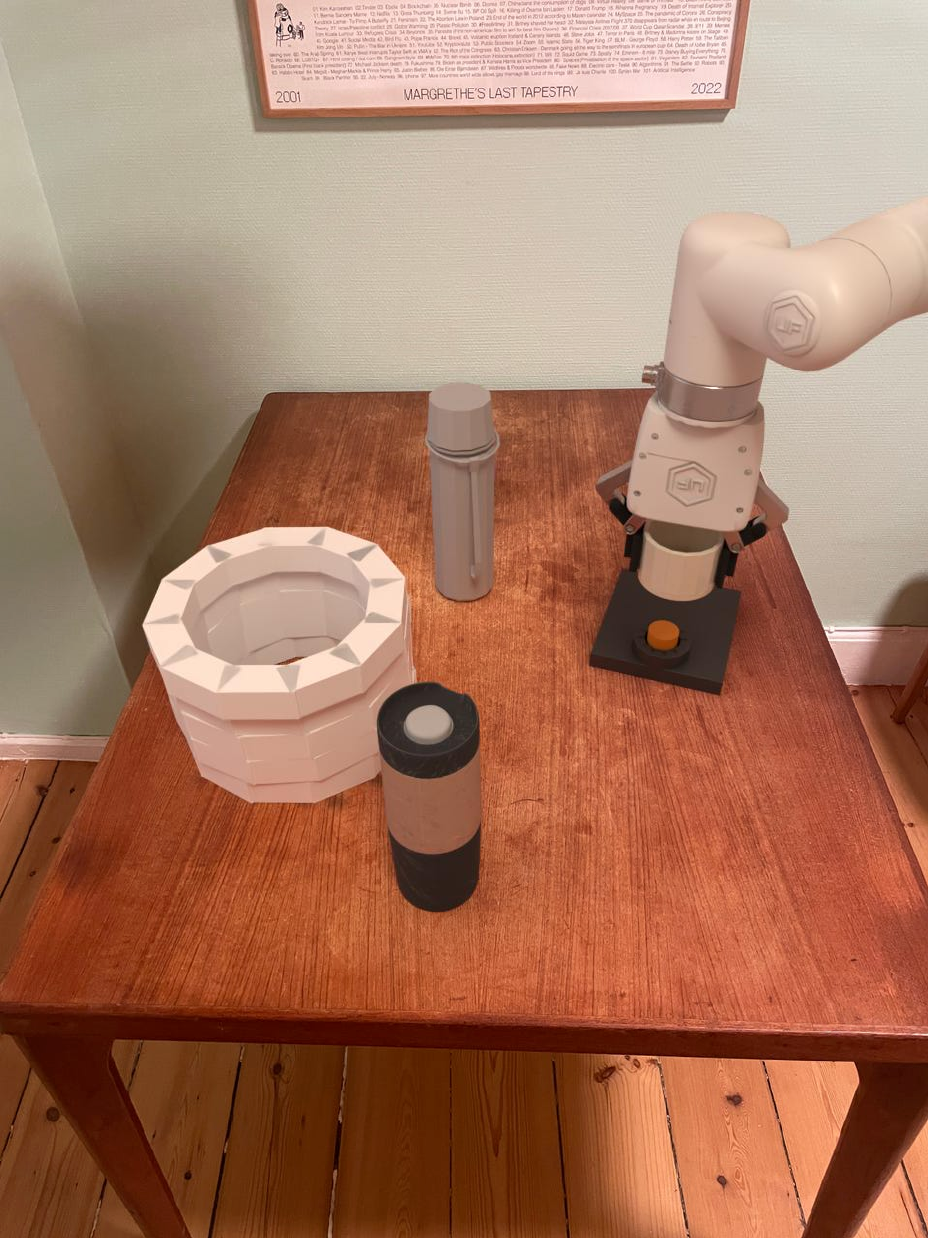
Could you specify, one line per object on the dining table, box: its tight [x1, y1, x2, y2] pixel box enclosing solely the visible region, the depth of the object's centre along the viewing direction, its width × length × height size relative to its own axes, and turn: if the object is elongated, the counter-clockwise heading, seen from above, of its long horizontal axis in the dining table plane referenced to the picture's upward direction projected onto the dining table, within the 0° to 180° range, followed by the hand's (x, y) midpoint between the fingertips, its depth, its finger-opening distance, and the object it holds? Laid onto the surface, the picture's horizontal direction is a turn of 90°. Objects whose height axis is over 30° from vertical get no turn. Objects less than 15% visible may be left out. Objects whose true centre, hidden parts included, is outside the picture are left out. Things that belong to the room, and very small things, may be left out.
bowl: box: [637, 519, 725, 601], centre depth 79 cm, size 7×7×5 cm
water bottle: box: [424, 382, 501, 603], centre depth 99 cm, size 9×8×25 cm
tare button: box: [647, 620, 679, 651], centre depth 95 cm, size 3×3×2 cm
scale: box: [588, 567, 742, 696], centre depth 100 cm, size 14×16×4 cm
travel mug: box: [377, 680, 483, 913], centre depth 71 cm, size 8×8×20 cm
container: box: [141, 526, 418, 805], centre depth 87 cm, size 25×24×16 cm
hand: (677, 570), depth 80 cm, fingers closed on bowl, 7 cm apart
